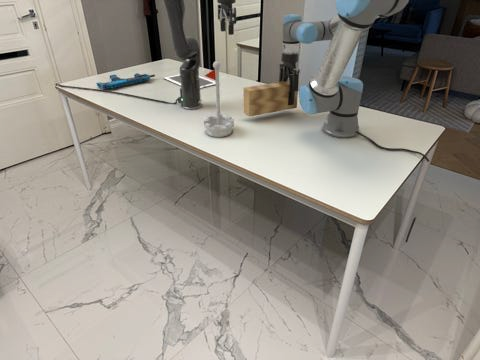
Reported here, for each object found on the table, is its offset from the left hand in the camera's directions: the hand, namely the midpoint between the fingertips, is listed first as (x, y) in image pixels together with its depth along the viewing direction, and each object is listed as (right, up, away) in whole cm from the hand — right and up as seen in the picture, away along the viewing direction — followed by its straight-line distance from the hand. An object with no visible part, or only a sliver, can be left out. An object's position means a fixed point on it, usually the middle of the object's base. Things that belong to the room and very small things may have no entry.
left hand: (227, 32), depth 146 cm
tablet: (-25, -2, +65) cm, 70 cm away
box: (+20, -30, +16) cm, 40 cm away
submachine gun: (-66, -3, +64) cm, 92 cm away
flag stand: (-4, -42, +3) cm, 42 cm away
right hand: (+28, -26, +18) cm, 42 cm away
